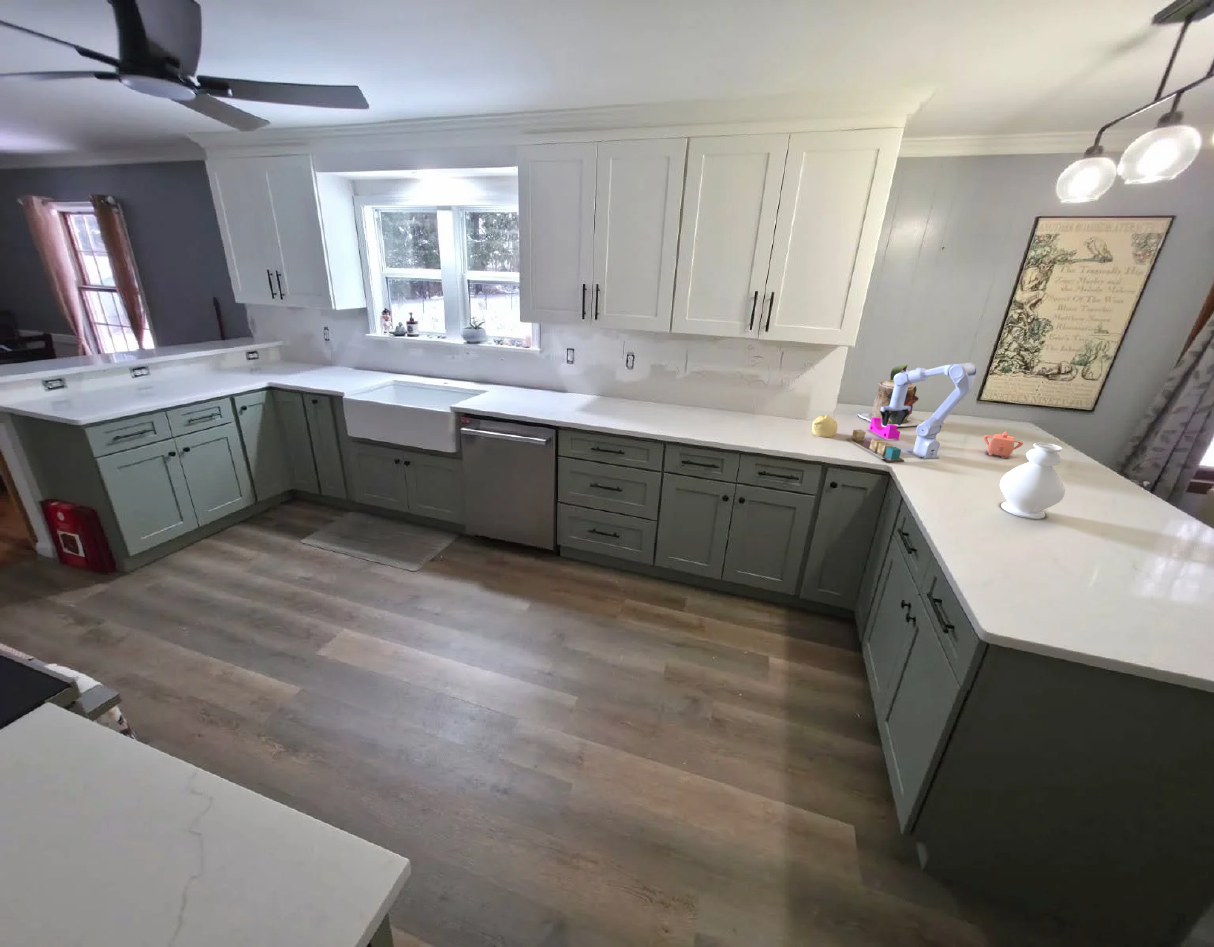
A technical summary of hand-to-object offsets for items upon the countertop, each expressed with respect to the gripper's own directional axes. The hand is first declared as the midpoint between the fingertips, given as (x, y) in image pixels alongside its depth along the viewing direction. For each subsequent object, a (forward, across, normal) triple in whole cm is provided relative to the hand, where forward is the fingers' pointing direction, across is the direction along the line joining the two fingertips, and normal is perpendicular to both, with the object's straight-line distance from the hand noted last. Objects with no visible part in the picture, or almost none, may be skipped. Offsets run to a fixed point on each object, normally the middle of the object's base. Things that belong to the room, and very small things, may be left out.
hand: (891, 425), depth 240 cm
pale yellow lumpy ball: (+10, +26, -14) cm, 31 cm away
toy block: (+10, -6, -11) cm, 16 cm away
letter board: (+9, +13, +8) cm, 18 cm away
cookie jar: (+10, -26, -33) cm, 43 cm away
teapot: (+10, -42, +21) cm, 48 cm away
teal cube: (+8, +13, +20) cm, 26 cm away
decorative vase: (+10, -1, +72) cm, 73 cm away
